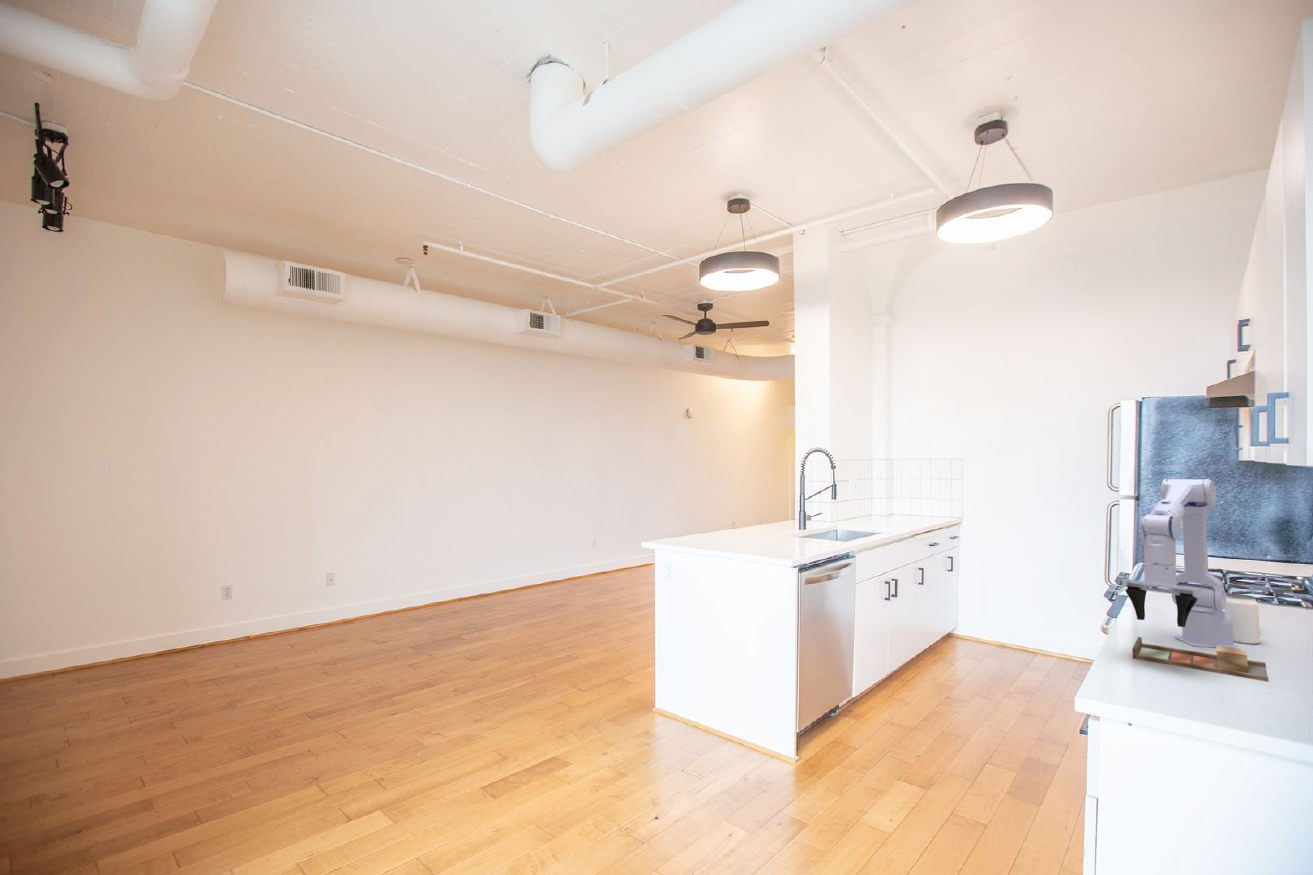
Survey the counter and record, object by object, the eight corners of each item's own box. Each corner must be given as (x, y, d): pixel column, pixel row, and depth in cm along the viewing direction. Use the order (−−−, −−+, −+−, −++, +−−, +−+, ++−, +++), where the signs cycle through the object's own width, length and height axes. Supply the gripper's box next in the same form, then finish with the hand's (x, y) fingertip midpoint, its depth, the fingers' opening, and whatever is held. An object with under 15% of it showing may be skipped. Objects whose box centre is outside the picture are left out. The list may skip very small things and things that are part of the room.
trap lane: (1265, 666, 135) (1264, 656, 135) (1268, 682, 126) (1267, 670, 126) (1138, 646, 151) (1138, 636, 151) (1132, 658, 142) (1132, 648, 142)
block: (1247, 667, 134) (1246, 650, 135) (1248, 673, 131) (1247, 655, 131) (1217, 662, 138) (1216, 645, 138) (1217, 667, 134) (1216, 650, 135)
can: (1267, 645, 150) (1264, 599, 151) (1238, 644, 152) (1235, 598, 152) (1247, 637, 157) (1244, 593, 157) (1220, 637, 158) (1217, 592, 159)
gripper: (1116, 560, 142) (1116, 616, 140) (1192, 568, 130) (1193, 630, 128) (1129, 561, 146) (1129, 616, 144) (1204, 569, 133) (1206, 629, 131)
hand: (1160, 623), depth 136 cm, fingers open, 7 cm apart
